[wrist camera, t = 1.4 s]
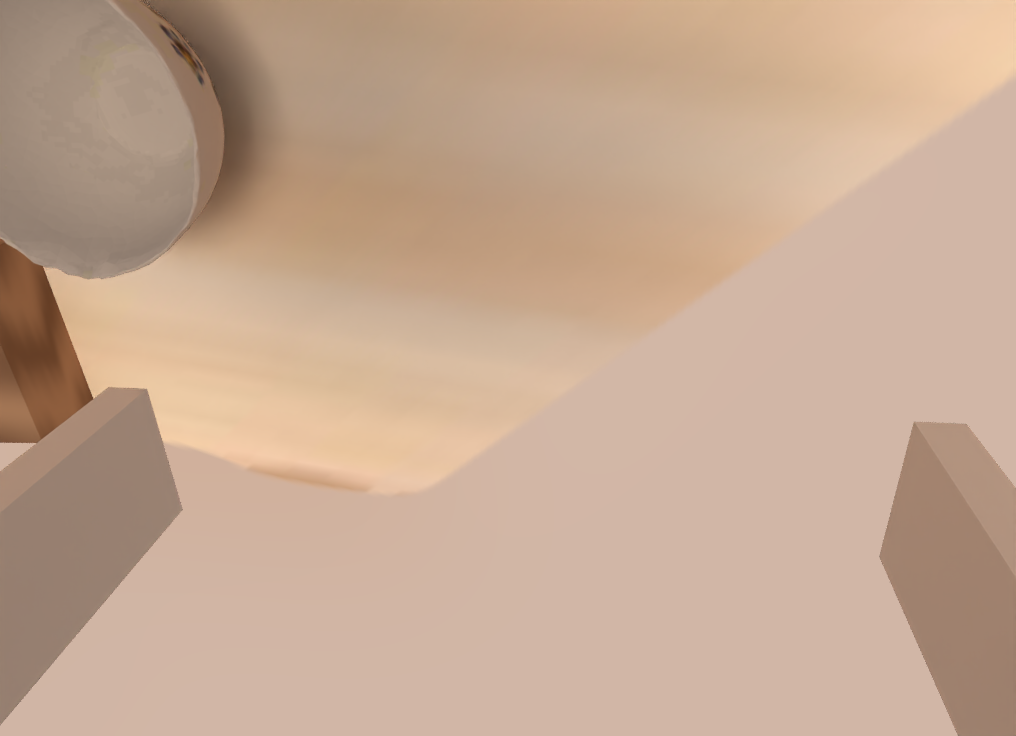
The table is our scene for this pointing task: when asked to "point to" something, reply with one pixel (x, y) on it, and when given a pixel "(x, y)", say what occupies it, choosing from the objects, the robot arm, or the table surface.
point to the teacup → (101, 134)
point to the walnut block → (34, 354)
